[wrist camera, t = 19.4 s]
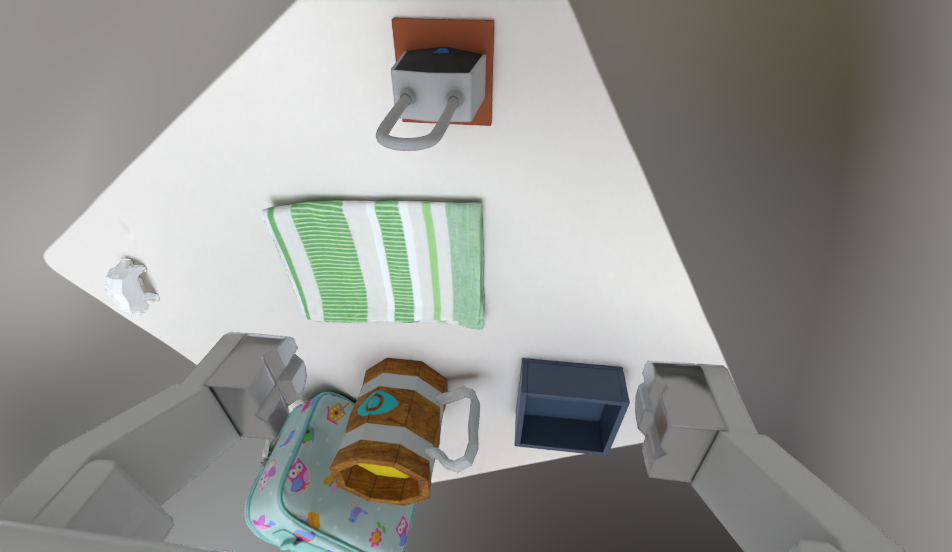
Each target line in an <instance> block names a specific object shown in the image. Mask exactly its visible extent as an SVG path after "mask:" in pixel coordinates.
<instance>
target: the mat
mask: <svg viewBox="0 0 952 552" xmlns="http://www.w3.org/2000/svg"><path fill="white" fill-rule="evenodd" d="M392 28H393V37H394V47H395V56H396V62H397V60H398V59H399V58H400V56H401V55H402V53H403V52H404V51H410V50H419V49H427V48H435V47H443V46H444V47H450V48H455V49H460V50H465V51H470V52H475V53H480V54H485V55H486V78H485V98H484V100H483V102H482V104H481V105H480V107H479V109H478V111H477V113H476V114H475V116H474V118H473V120H472V121H471V122H450V123H449V124H463V125H486V126H490V125H491V114H492V78H493V42H494V21H493V20H454V19H412V18H393V19H392ZM402 121H403V122H418V123H437V122H431V121H421V120H412V119H403V118H402Z"/></svg>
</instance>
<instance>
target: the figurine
mask: <svg viewBox="0 0 952 552" xmlns="http://www.w3.org/2000/svg"><path fill="white" fill-rule="evenodd" d="M129 266H130V267H131V268H128V267H129ZM141 272H143V273H145V272H147V271H146V269H145V266H144V265H139V264H138V265H133V262H132V260H131V259H128V258H125V259H121V261H120V263H119V264H118V265H117V266H116V267H114V268H112V269H110V270H109V272H108V274H107V276H106V284H105V286H106V291H107V292H108V294H109V295H110V296H111V297H112V299H113V302H114V306H115V307H116V309H119V310H121V311H127V312H132V313H133V314H134V313H139V315H142V313H145V311H146V310H147V309H148V306H149V304H148V303H147V302H145V301H146V300H152V299H155V300H158V301H159V297H158V295H157V294H153V293H149V292H144V293H143V291H142V289H141V287H140V285H143V286H144V284H143V280H142V279H141V278H138V276H139V274H140V273H141ZM139 284H140V285H139Z"/></svg>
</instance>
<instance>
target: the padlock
mask: <svg viewBox="0 0 952 552" xmlns="http://www.w3.org/2000/svg"><path fill="white" fill-rule="evenodd" d="M391 75H392V84H393V94H394V103H395V105H394V107H393V108H392V109H391V111H390V112H389V113H388V115H387V116H386V117H385V119H384V120H383V121H382V123H381V124H380V126H379V128H378V130H377V132H376V139H377V141H378V142H379V143H380V144H381V145H382V146H384V147H387V148H389V149H393V150H400V151H416V150H422V149H426V148H430V147H432V146H434V145H435V144H437V143H438V142H439V141H440V139H441V138H442V137H443V135H444V133H445V131H446V129H447V127H448V125H449V123H450V122H471V121H472V120H473V118H474V116H475V114H476V113H477V111H478V109H479V107H480V105H481V104H482V102H483V100H484V98H485V78H486V55H485V54H480V53H475V52H470V51H465V50H460V49H455V48H450V47H444V46H443V47H435V48H427V49H419V50H410V51H404V52H403V53H402V55H401V56H400V58H399V59H398V60H397V62H396V63H395V65H394V66H393V67H392V69H391ZM399 118H403V119H412V120H421V121H431V122H437V124H436V126H435V127H434V129H433V130H432V132H431V133H430V134H428V135H426V136H422V137H417V138H398V137H393V136H390V135H389V133H390V131H391V129H392V128H393V126H394V125H395V123H396V122H397V120H398V119H399Z"/></svg>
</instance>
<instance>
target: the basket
mask: <svg viewBox="0 0 952 552" xmlns="http://www.w3.org/2000/svg"><path fill="white" fill-rule="evenodd" d="M629 403H630V402H629V397H628V392H627V387H626V382H625V377H624V372H623V368H622V367H612V366H601V365H590V364H579V363H567V362H556V361H545V360H533V359H522V365H521V373H520V382H519V390H518V399H517V407H516V421H515V446H520V447H528V448H538V449H547V450H557V451H566V452H576V453H585V454H595V455H603V456H608V453H609V451H610V449H611V446H612V444H613V441H614V439H615V437H616V434H617V432H618V430H619V427H620V425H621V422H622V420H623V418H624V415H625V413H626V411H627V408H628V406H629Z"/></svg>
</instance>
